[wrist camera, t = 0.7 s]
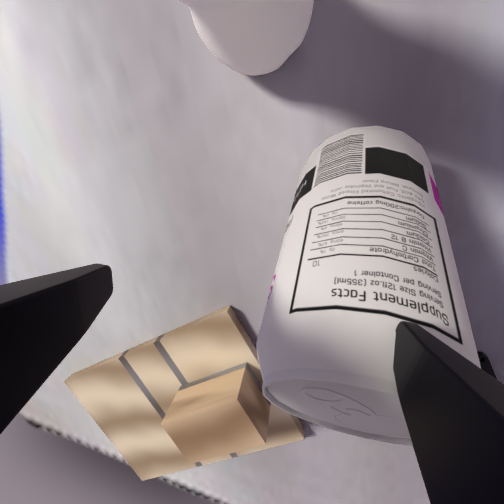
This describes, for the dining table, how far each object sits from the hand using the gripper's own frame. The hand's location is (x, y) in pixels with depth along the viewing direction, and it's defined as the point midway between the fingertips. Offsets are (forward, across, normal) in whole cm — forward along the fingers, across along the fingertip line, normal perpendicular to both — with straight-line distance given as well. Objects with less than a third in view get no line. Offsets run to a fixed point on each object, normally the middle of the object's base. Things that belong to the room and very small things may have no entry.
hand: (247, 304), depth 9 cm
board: (+14, +7, +24) cm, 28 cm away
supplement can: (+14, -6, -3) cm, 15 cm away
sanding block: (+12, +2, +20) cm, 24 cm away
